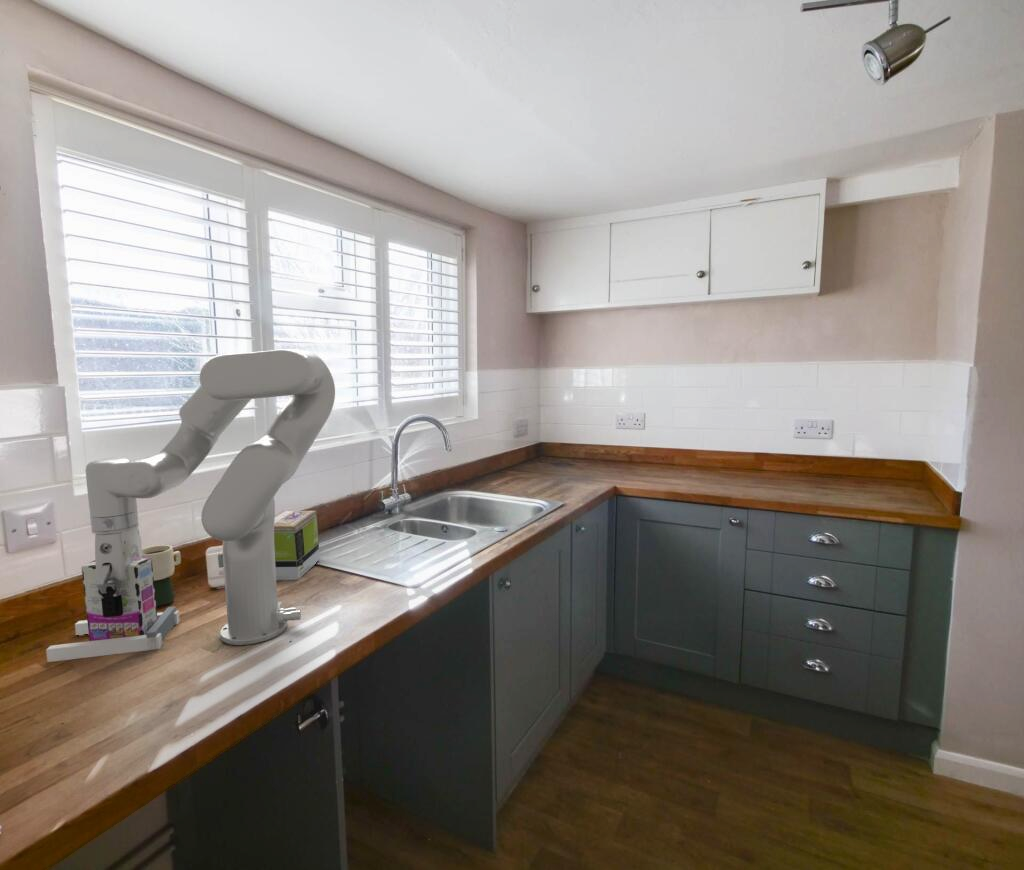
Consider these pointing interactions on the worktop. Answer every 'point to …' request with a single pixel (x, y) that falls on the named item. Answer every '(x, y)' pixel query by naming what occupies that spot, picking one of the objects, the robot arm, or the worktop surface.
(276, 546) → the tea box
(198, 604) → the worktop surface
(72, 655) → the channel
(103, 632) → the candy bar box
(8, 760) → the worktop surface
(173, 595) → the character mug
